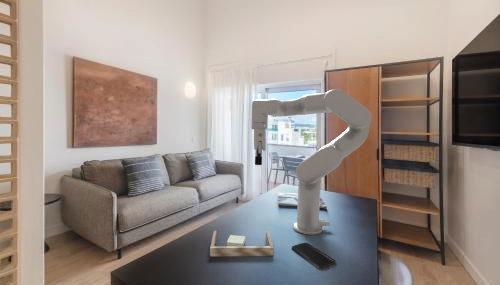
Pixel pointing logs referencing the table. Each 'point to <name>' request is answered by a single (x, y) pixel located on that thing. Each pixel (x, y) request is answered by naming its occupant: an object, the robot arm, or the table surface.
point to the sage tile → (236, 240)
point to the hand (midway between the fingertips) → (258, 164)
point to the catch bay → (241, 249)
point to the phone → (313, 255)
